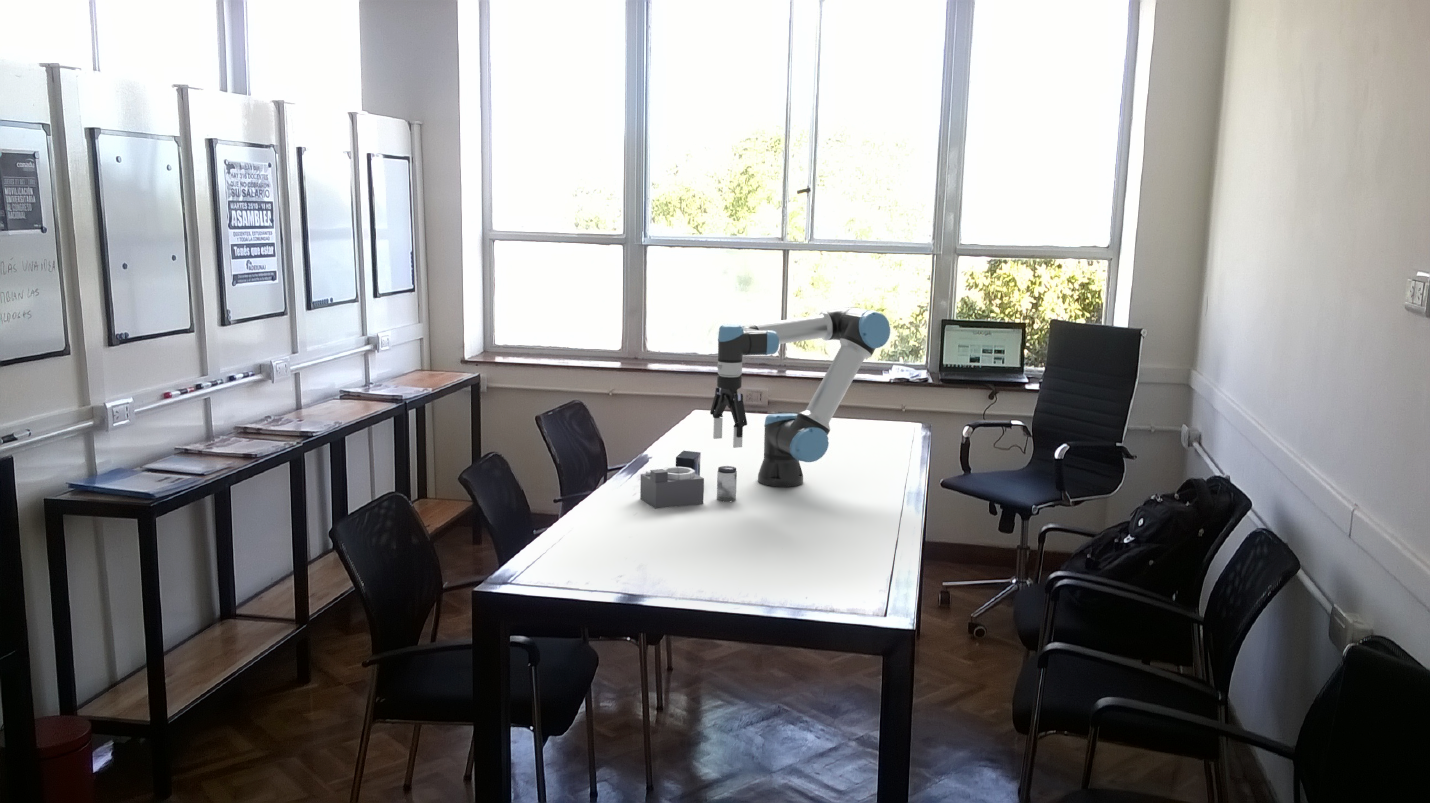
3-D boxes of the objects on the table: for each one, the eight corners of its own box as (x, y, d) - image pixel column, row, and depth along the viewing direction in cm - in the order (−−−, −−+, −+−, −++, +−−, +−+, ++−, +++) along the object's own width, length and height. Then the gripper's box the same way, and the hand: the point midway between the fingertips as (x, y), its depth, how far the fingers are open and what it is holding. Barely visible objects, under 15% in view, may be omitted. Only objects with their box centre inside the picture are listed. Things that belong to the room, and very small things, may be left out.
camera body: (686, 494, 349) (687, 460, 347) (703, 503, 338) (704, 468, 336) (640, 498, 342) (640, 464, 340) (655, 508, 331) (656, 473, 329)
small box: (693, 490, 354) (694, 458, 352) (674, 488, 355) (674, 457, 353) (700, 482, 364) (701, 451, 362) (681, 480, 365) (682, 450, 364)
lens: (730, 495, 348) (731, 465, 346) (739, 500, 343) (740, 469, 341) (713, 497, 345) (714, 466, 343) (722, 502, 340) (723, 471, 338)
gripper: (700, 369, 346) (699, 435, 350) (737, 382, 324) (735, 452, 328) (722, 368, 350) (720, 434, 353) (759, 380, 328) (757, 450, 331)
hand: (727, 442), depth 341 cm, fingers open, 13 cm apart
